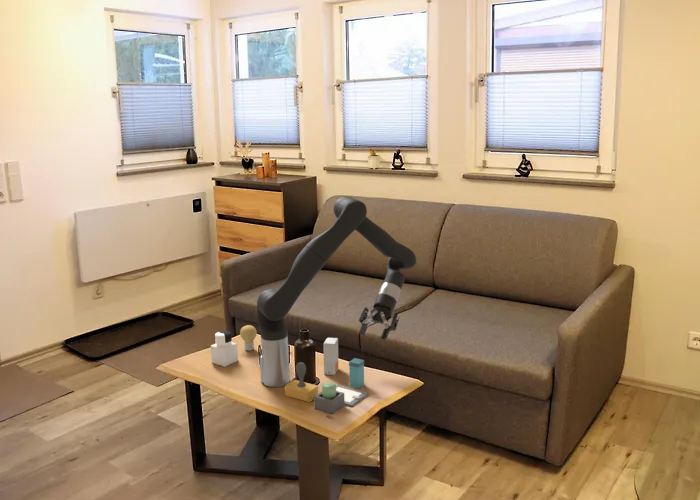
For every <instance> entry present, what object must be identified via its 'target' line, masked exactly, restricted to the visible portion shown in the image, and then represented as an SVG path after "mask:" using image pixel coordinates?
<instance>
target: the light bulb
mask: <svg viewBox="0 0 700 500" xmlns="http://www.w3.org/2000/svg"><path fill="white" fill-rule="evenodd" d="M239 332H240V333H239V334H240V338H241V339H242V340H243V341H244V342H243V344H244V345H243V346H244V350H245V351H250V352H251V351H252V350H254V348H255V345H254V343H255V342H254V340H255V339H256V337H257V328H255V326H253V325H251V324H247V325H244V326H243V327H241V328H240V331H239Z"/></svg>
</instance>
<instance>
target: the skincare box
mask: <svg viewBox="0 0 700 500" xmlns="http://www.w3.org/2000/svg"><path fill="white" fill-rule="evenodd" d="M322 346H323V348H322V349H323V375H330V376H331V375H332V376H335V375H336V374H337V372H338V370H339V338H338V337H327V338H326V339H325V341H324V342H323V345H322Z"/></svg>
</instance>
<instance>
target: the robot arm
mask: <svg viewBox="0 0 700 500" xmlns="http://www.w3.org/2000/svg"><path fill="white" fill-rule="evenodd" d="M367 209H368V207H367V206H366V204H365V203H364V202H363V201H361V200H359V199H356V198H354V197H352V196H341V197H339V198H338V199H336V201H335V202H334V204H333V213H334V216H335V218H336V221H335V222H334V223H333V224H332V225H331V226H330V227H329V228H328V229H327V230H325V231H324V232H323V233H320V234H319V235H317V236H316V237H314V238H312V239H311V240H310V241H309V242H307V244H306V245H305V246H304V247H303V248H302V249H301V251H299V253H298V254H297V256H296V258H294V261H293V264H292V266H291V269H290V272H289V274H288V276H287V278H286V279H285V281H284V282H283V283H282V285H280V287H279V288H278V289H272V288H268V289H266V290H265V289H264V291H262V292H261V293H260V294H259V296H258V298H257V302H256V312H257V313H256V314H257V324H258V329H259V332H260V343H261V344H260V345H261V346H260V347H261V355H260V356H259V366H260V367H259V369H260V382H261V383H263V385H265V386H266V387H270V388H279V387H280V388H281V387H283V386H284V387H285V386H286V385H287V384H289V383H290V382H291V381H290V357H289V339H288V337H289V336H288V327H287V325H286V322H285V317H286V315H287V314H289V311H291V309H292V308H293V306H294V304H295V303H296V302H297V300H298V298H299V297H300V296H301V294H302V292H304V290H305V289H307V288H306V287H308V285H309V284H310V283H311V281H313V280H314V278H315V277H316V276H317V275H318V273H319V272H320V271H321V270H322V269H323V268H324V266H325V265H326V263H327V262H328V261H329V260H330V258H331V257H332V256H333V255H334V253H335V252H336V251H337V250H338V249H339V248H340V246H342V244H343V243H344V242H345V240H347V238H349V237H350V235H351V234H353V233H354V231H356V232H357V233H359V234H360V235H361V236H362V237H363V238H365V239H366V240H367V241H368V242H369V243H370V244H371V245H372V246H373V247H374V248H375V249H376V250H377V251H379V253H380V254H382V255H383V256H384V257H387V258H388V259H387V267H386V275H385V278H384V280H383V282H382V285H381V286H380V288H379V290H378V293H377V296H376V298H375V301H374V303H373V307H372V309H370V308H368V307H367V306H366V307H364V308H363V310H362V312H361V314H360V317H359V318H358V322H359V323H360V324H361V326H360V329H359V334H360V335H361V336H362V337H364V336H365V334H366V332H367V329H368V327H369V326H370V325H372V324H374V323H375V324H381V325H384V329H383V330H382V332H381V333H382V334H381V336H380V339H381V341H386V339H388V336H389V333H390V332H391V331H393V332H395V331H396V330H397V327H398V323H399V320H400V315H399V314H398V313H397V312H394V311H395V308H396V306H397V304H398V301H399V299H400V298H399V297H400V293H401V291H402V288H403V285H404V283H405V280H406V278H405V275H404V274H403V273H402V272H400V271H401V270H409V269H412V268H414V267H415V265H416V264H417V257H416V254H415V252H414V251H413V250H412V249H410V248H409V247H407V246H405V245H404V244H402V243H400V242H398V241H397V240H396V239H395V238H393V236H391V234H389V233H388V232H387V231H386V230H384V229H383V228H382V227H381V226H379V225H378V224H376V223H375V222H373V221H372V220H371V219H370V218H369V217H367V213H368V210H367ZM390 319H391V322H389V320H390Z"/></svg>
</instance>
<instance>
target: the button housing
mask: <svg viewBox="0 0 700 500" xmlns="http://www.w3.org/2000/svg"><path fill="white" fill-rule="evenodd" d="M313 405H314V408H313V409H314V410H316V411H318V412H322V413H325V414H329V415H334V414H335V413H337V412H338V411H340V410H341V409H342V408H344V407H345V406H346V405H345V403H344V393H342V392H339V391H336V397H335V398H333V399H332V400H330V399H326V398H323V397H322V391H320V392H318V394H317V395H316V396H314V399H313Z"/></svg>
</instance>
